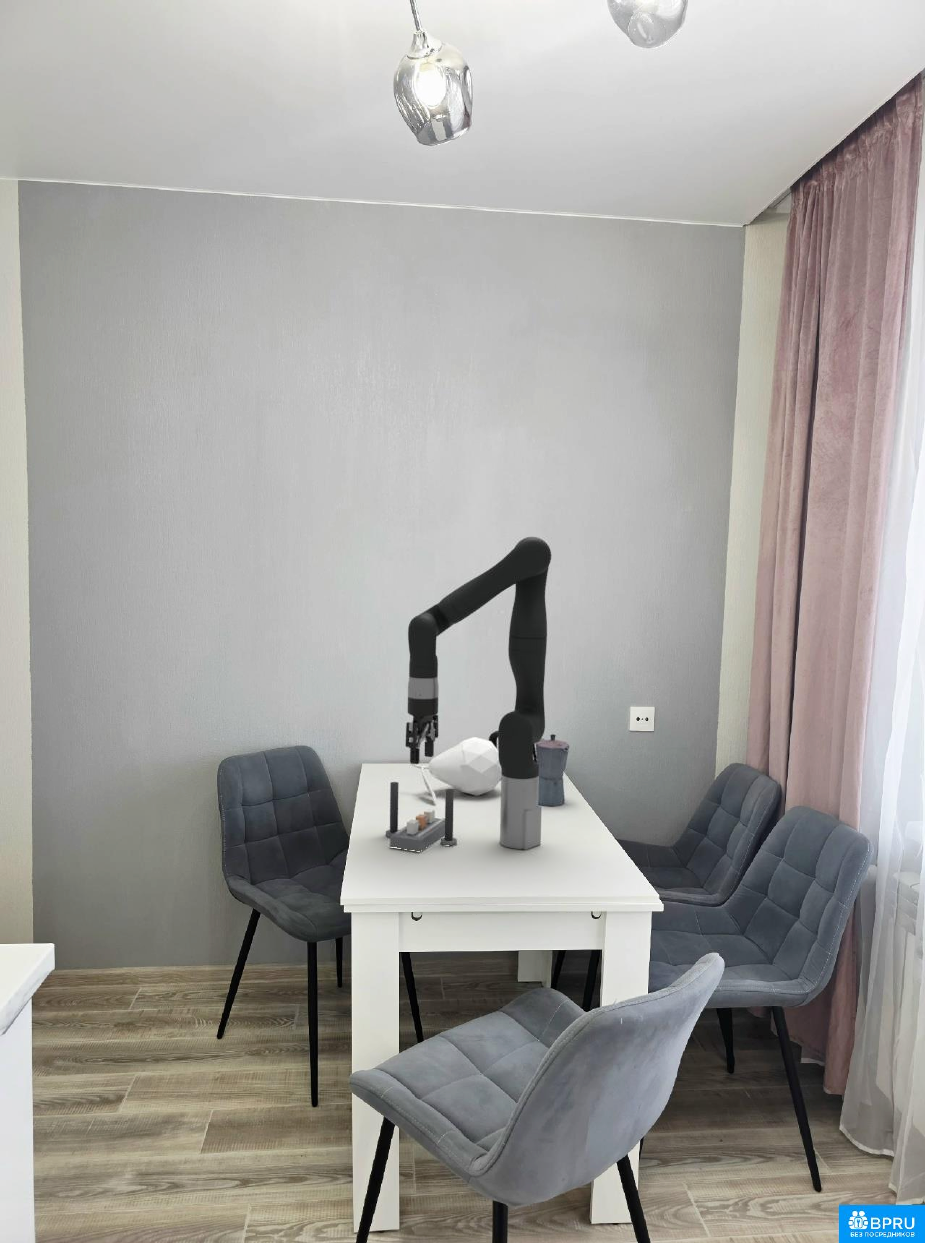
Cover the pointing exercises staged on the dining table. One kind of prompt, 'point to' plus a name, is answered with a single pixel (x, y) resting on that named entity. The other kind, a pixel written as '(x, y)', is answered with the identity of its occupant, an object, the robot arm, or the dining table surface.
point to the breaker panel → (419, 836)
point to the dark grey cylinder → (449, 819)
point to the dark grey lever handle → (393, 809)
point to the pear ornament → (466, 767)
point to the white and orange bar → (420, 821)
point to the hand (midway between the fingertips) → (422, 760)
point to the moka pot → (551, 770)
